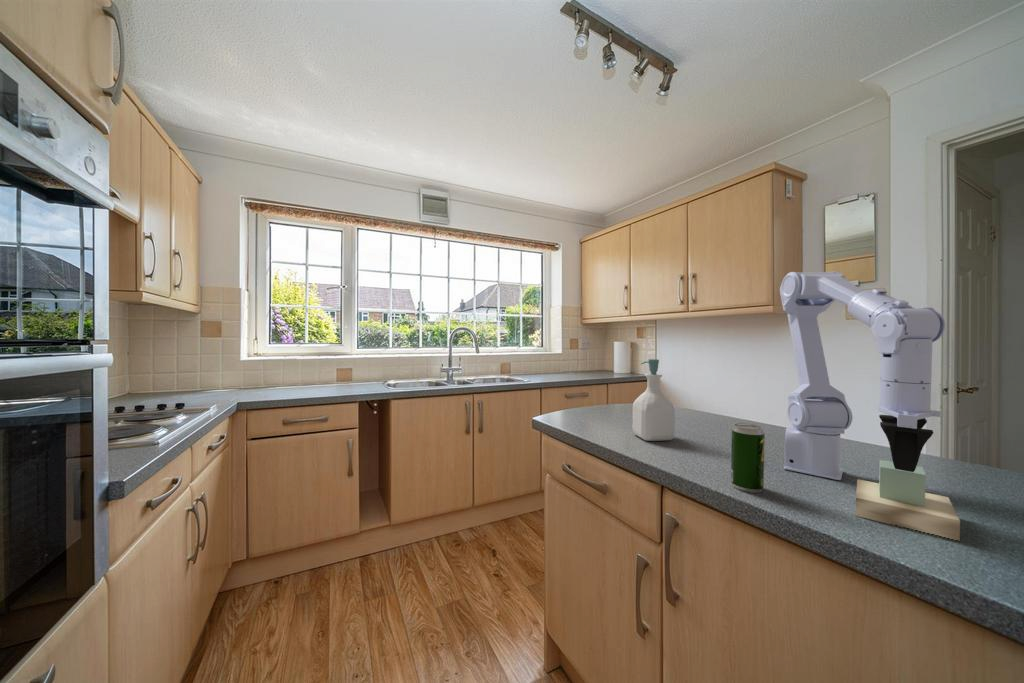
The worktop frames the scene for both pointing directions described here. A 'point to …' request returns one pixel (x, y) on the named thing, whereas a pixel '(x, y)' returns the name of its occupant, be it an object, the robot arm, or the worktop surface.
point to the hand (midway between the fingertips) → (902, 464)
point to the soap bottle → (653, 410)
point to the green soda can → (747, 457)
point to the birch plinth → (908, 511)
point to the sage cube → (902, 484)
